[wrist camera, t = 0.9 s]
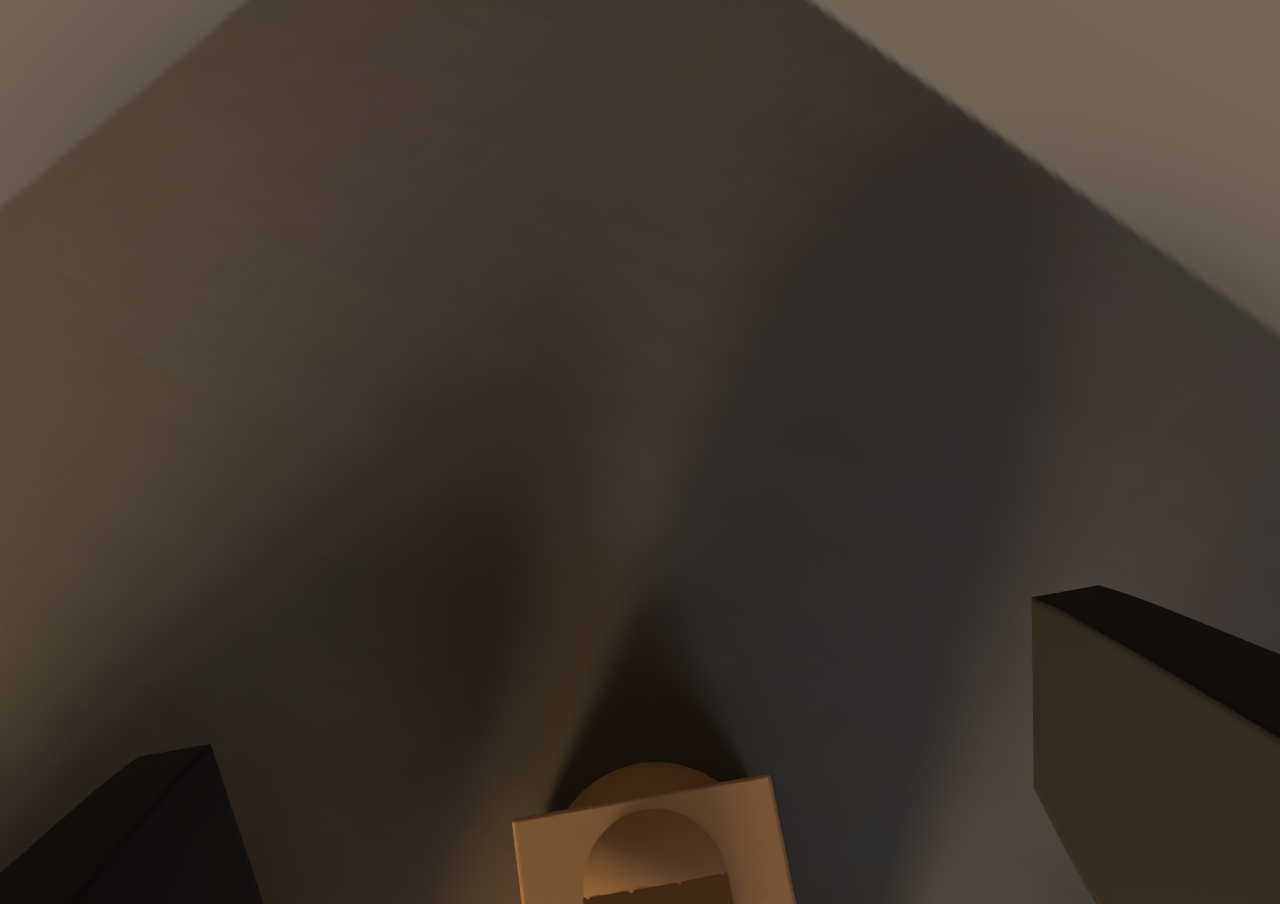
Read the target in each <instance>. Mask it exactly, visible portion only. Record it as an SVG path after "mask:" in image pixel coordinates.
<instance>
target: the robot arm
mask: <svg viewBox="0 0 1280 904" xmlns="http://www.w3.org/2000/svg"><path fill="white" fill-rule="evenodd" d="M1032 656H1033V738H1034V789H1035V791H1036V793H1037V795H1038V797H1039V799H1040V801H1041V803H1042V805H1043V807H1044V809H1045V811H1046V812H1047V814H1048V816H1049V818H1050V820H1051V822H1052V824H1053V826H1054V828H1055V830H1056V832H1057V834H1058V836H1059V838H1060V840H1061V842H1062V844H1063V846H1064V847H1065V849H1066V851H1067V853H1068V855H1069V857H1070V858H1071V860H1072V862H1073V864H1074V866H1075V868H1076V869H1077V871H1078V873H1079V875H1080V877H1081V879H1082V880H1083V882H1084V884H1085V886H1086V888H1087V889H1088V891H1089V892H1090V894H1091V895H1092V897H1093V898H1094V900H1095V901H1096V903H1097V904H1280V654H1278V653H1275V652H1273V651H1270V650H1268V649H1265V648H1263V647H1260V646H1258V645H1255V644H1253V643H1250V642H1248V641H1245V640H1243V639H1240V638H1238V637H1235V636H1233V635H1231V634H1228V633H1226V632H1223V631H1221V630H1218V629H1216V628H1213V627H1211V626H1208V625H1206V624H1203V623H1201V622H1198V621H1196V620H1193V619H1191V618H1188V617H1186V616H1183V615H1181V614H1178V613H1176V612H1173V611H1171V610H1168V609H1166V608H1163V607H1160V606H1158V605H1155V604H1153V603H1150V602H1147V601H1145V600H1142V599H1139V598H1137V597H1134V596H1131V595H1128V594H1125V593H1122V592H1119V591H1116V590H1113V589H1109V588H1106V587H1103V586H1099V585H1098V586H1092V587H1087V588H1081V589H1076V590H1070V591H1064V592H1059V593H1053V594H1048V595H1042V596H1036V597H1032ZM0 904H263V901H262V898H261V895H260V892H259V889H258V886H257V883H256V880H255V877H254V874H253V871H252V868H251V865H250V862H249V859H248V856H247V853H246V850H245V847H244V844H243V841H242V838H241V835H240V832H239V829H238V826H237V823H236V820H235V817H234V814H233V811H232V808H231V805H230V802H229V799H228V796H227V793H226V790H225V787H224V784H223V781H222V778H221V775H220V772H219V768H218V765H217V762H216V759H215V756H214V753H213V750H212V747H211V744H207V745H201V746H195V747H190V748H184V749H179V750H173V751H167V752H162V753H156V754H151V755H145V756H139V757H137V758H136V759H134V760H133V761H132V762H130V763H129V764H128V765H126V766H125V767H124V768H122V769H121V770H119V771H118V772H117V773H116V774H114V775H113V776H112V777H111V778H109V779H108V780H107V781H106V782H104V783H103V784H102V785H101V786H100V787H98V788H97V789H96V790H95V791H94V792H92V793H91V794H90V795H89V796H88V797H87V798H85V799H84V800H83V801H82V802H81V803H80V804H78V805H77V806H76V807H75V808H74V809H73V810H71V811H70V812H69V813H68V814H67V815H66V816H65V817H63V818H62V819H61V820H60V821H59V822H58V823H57V824H55V825H54V826H53V827H52V828H51V829H50V830H49V831H47V832H46V833H45V834H44V835H43V836H42V837H41V838H40V839H38V840H37V841H36V842H35V843H34V844H33V845H32V846H30V847H29V848H28V849H27V850H26V851H25V852H24V853H23V854H21V855H20V856H19V857H18V858H17V859H16V860H15V861H13V862H12V863H11V864H10V865H9V866H8V867H7V868H5V869H4V870H3V871H2V872H1V873H0Z"/></svg>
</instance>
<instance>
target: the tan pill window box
mask: <svg viewBox="0 0 1280 904" xmlns="http://www.w3.org/2000/svg"><path fill="white" fill-rule="evenodd" d="M512 827H513V835H514V844H515V852H516V860H517V868H518V876H519V884H520V892H521V900H522V904H796V901H795V896H794V891H793V886H792V881H791V876H790V871H789V866H788V861H787V856H786V851H785V846H784V841H783V835H782V830H781V825H780V820H779V815H778V810H777V805H776V800H775V795H774V790H773V785H772V780H771V777H770V775H767V774H764V775H758V776H753V777H747V778H741V779H736V780H730V781H724V782H718V781H716V780H714V779H713V778H711V777H709V776H707V775H706V774H704V773H702V772H700V771H697V770H694V769H692V768H689V767H686V766H683V765H680V764H672V763H664V762H650V763H638V764H634V765H631V766H627V767H623V768H619V769H617V770H615V771H613V772H611V773H609V774H607V775H605V776H603V777H601V778H599V779H598V780H596V781H595V782H594V783H593V784H591V785H590V786H589V787H588V788H586V789H585V790H584V791H583V792H581V793H580V794H579V796H578V797H577V798H576V799H575V800H574V802H573V803H572V804H571V805H570V806H569V807H568V809H566V810H560V811H555V812H549V813H544V814H538V815H532V816H527V817H521V818H516V819H514V820H513V822H512Z"/></svg>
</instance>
